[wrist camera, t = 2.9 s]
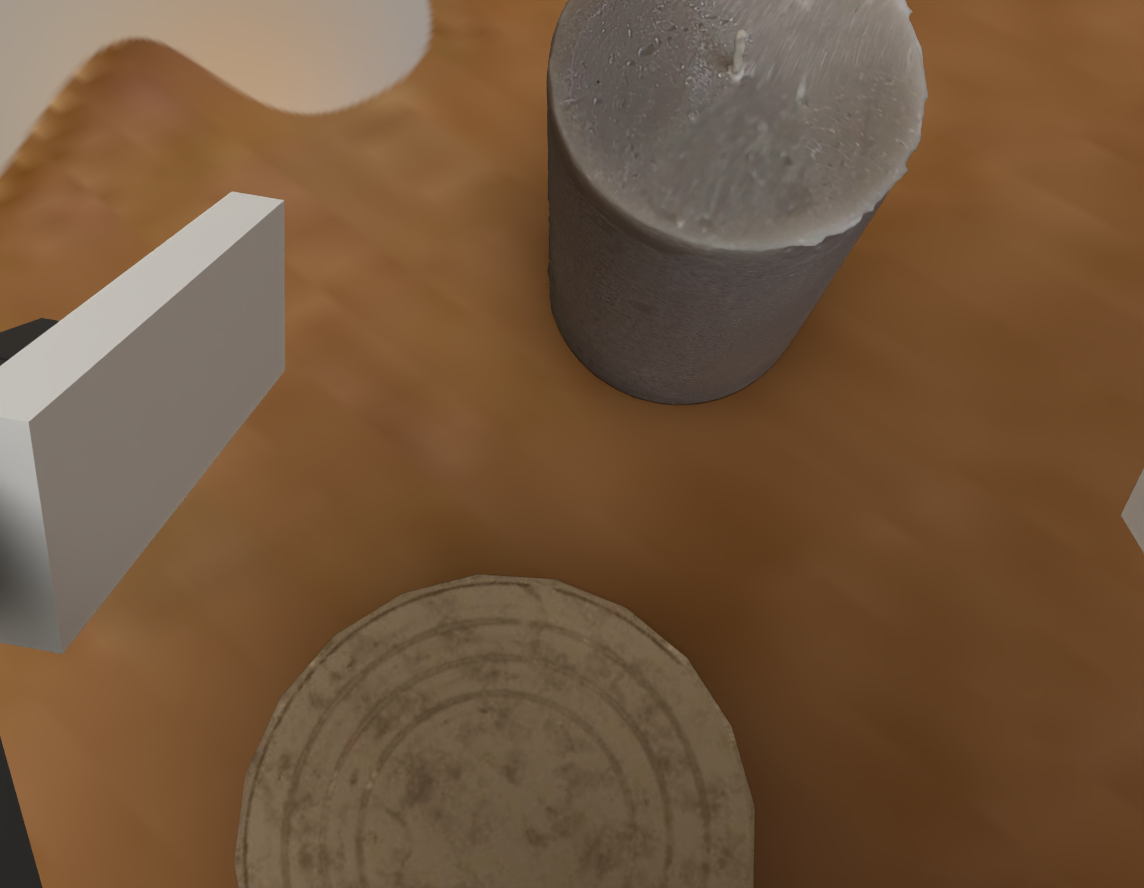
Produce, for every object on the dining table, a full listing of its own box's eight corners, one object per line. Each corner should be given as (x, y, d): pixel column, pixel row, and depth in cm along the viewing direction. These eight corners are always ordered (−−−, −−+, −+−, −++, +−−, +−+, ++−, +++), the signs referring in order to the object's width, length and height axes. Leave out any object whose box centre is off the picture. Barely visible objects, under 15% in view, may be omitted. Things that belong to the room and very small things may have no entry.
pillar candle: (498, 254, 40) (461, -3, 25) (704, 120, 41) (782, -197, 27) (651, 459, 38) (706, 311, 23) (861, 312, 39) (1037, 85, 25)
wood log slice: (824, 736, 36) (847, 738, 33) (587, 1199, 32) (589, 1248, 29) (428, 502, 38) (417, 484, 35) (165, 915, 34) (128, 934, 31)
